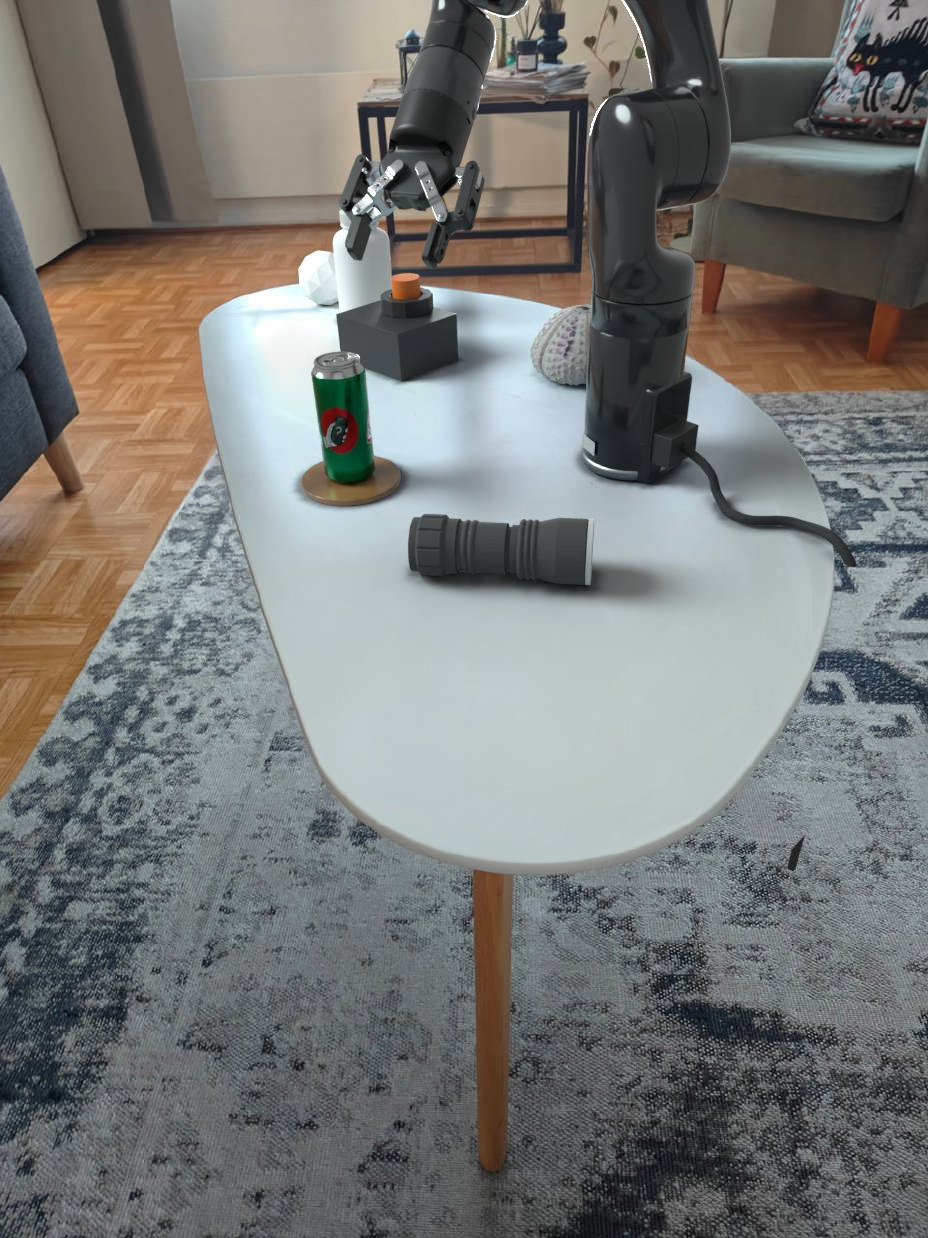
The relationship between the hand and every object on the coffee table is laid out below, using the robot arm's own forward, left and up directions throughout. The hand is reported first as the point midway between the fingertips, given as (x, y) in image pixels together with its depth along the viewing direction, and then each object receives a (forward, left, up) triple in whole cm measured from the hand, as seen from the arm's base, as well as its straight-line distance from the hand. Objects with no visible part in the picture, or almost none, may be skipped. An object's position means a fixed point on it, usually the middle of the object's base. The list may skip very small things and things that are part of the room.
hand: (390, 260), depth 89 cm
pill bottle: (+33, -23, -19) cm, 44 cm away
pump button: (+17, -17, -11) cm, 26 cm away
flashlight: (-28, +13, -19) cm, 36 cm away
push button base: (+17, -15, -18) cm, 29 cm away
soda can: (-5, +11, -18) cm, 22 cm away
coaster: (-5, +11, -18) cm, 22 cm away
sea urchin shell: (-4, -27, -19) cm, 33 cm away
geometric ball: (+44, -24, -19) cm, 53 cm away
